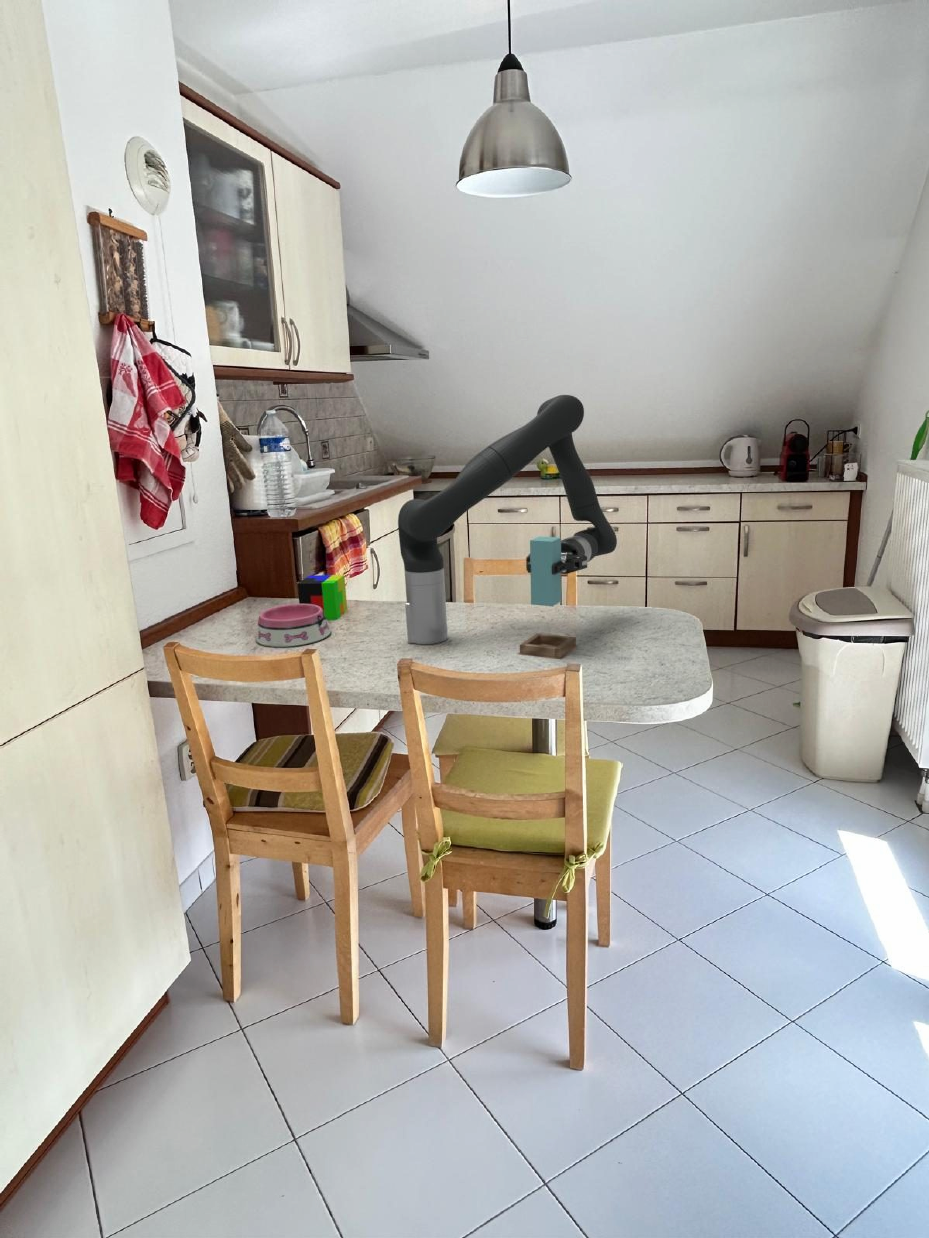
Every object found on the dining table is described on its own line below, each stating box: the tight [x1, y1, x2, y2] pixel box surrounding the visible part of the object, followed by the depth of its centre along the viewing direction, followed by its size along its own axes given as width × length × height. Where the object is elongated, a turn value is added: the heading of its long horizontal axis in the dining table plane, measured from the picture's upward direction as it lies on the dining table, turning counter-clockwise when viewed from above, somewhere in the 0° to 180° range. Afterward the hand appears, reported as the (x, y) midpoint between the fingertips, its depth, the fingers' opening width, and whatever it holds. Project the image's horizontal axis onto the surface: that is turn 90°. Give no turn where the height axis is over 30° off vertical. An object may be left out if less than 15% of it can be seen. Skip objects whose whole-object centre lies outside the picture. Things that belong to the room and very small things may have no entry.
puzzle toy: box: [296, 574, 348, 621], centre depth 224 cm, size 10×10×10 cm
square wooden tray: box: [517, 632, 579, 660], centre depth 182 cm, size 10×10×3 cm
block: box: [529, 536, 562, 607], centre depth 177 cm, size 5×5×14 cm
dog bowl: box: [255, 603, 332, 649], centre depth 205 cm, size 18×19×7 cm
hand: (541, 569), depth 175 cm, fingers closed on block, 5 cm apart
